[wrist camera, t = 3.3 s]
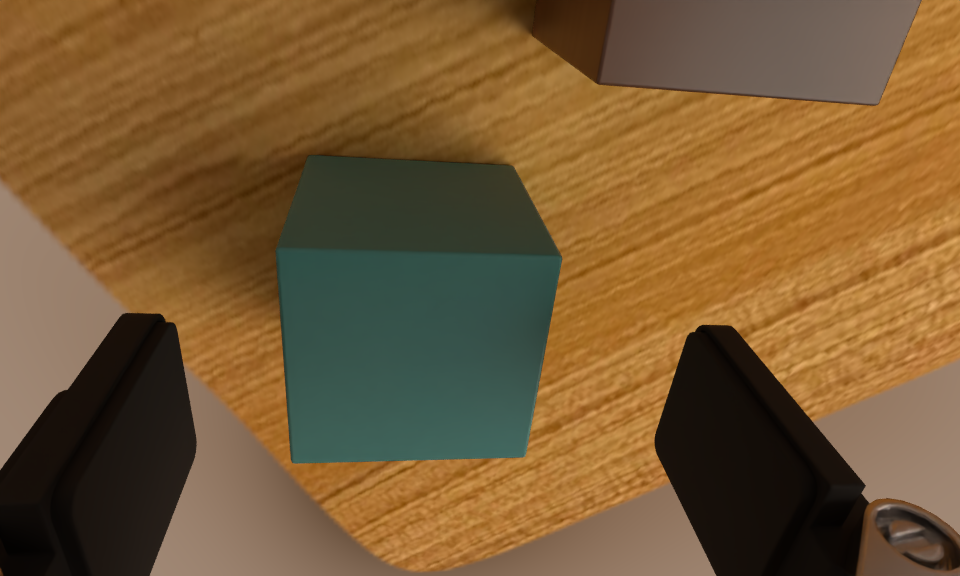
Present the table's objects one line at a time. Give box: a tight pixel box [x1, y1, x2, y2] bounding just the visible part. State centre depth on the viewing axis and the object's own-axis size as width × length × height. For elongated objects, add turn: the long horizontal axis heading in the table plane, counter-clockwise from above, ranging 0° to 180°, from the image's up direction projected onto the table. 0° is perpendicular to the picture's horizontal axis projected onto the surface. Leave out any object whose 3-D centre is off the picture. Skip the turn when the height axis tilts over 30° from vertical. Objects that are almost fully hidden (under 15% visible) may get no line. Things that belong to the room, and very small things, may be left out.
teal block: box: [275, 155, 562, 463], centre depth 14 cm, size 5×5×5 cm
